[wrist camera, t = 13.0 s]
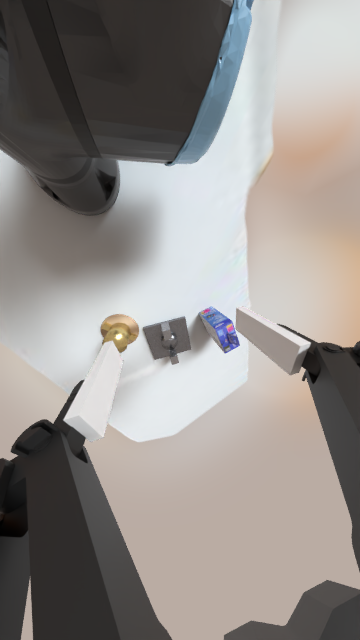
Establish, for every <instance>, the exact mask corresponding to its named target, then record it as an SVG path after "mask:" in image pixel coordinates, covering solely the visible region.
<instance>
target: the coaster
mask: <svg viewBox="0 0 360 640" xmlns="http://www.w3.org/2000/svg"><path fill="white" fill-rule="evenodd" d="M105 322H107V323H109V324H111V325H113V324H115V323H119V322H120V323H125V324H126V325H128V326H129V327H130V330H131V333H133V334H136V335H137V337H138V334H139V327H138V325H137V323H136V322H135V320H133V319H132V318H131V317H129V316H126V315H122V314H116V315H112V316H109V317H108V318H106V319H105V320H104V322H103V323H102V325H101V328H102V326H103V324H104V323H105ZM101 333H102V335H103V337H104V338H105V336H106V335H107V333H108V331H106V330H104V329H101ZM137 337H136V338H137ZM135 340H136V339H135ZM135 340H134V341H135ZM132 342H133V341H132V340H130V339H129V340H128V344H130V343H132Z"/></svg>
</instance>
